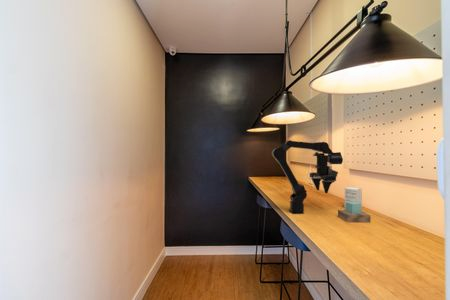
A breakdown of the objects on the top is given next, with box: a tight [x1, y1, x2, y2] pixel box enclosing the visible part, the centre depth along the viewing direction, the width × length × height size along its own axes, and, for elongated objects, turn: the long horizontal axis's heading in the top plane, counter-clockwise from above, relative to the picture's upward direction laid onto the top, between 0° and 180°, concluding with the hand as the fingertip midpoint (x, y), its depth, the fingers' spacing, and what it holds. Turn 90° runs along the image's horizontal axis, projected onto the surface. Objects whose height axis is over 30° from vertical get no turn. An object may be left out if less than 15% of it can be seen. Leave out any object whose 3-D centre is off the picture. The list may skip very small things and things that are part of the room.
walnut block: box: [337, 209, 371, 224], centre depth 115 cm, size 11×10×4 cm
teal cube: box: [344, 201, 362, 214], centre depth 114 cm, size 5×5×5 cm
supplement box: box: [344, 186, 363, 210], centre depth 136 cm, size 7×7×13 cm
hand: (322, 191), depth 127 cm, fingers open, 9 cm apart
